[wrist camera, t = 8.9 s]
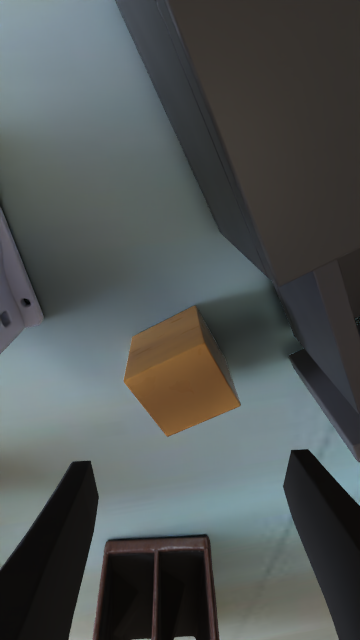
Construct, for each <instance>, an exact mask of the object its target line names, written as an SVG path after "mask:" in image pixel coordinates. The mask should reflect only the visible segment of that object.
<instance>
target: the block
mask: <svg viewBox="0 0 360 640" xmlns="http://www.w3.org/2000/svg"><path fill="white" fill-rule="evenodd" d="M123 381H124V383H125V384H126V385H127V387H128V388H129V389H130V390H131V392H132V393H133V394H134V396H135V397H136V398H137V399H138V401H139V402H140V403H141V404H142V406H143V407H144V408H145V409H146V411H147V412H148V413H149V414H150V416H151V417H152V418H153V419H154V421H155V422H156V423H157V425H158V426H159V427H160V428H161V430H162V431H163V432H164V433H165V435H166V436H167V437H169V436H171V435H173V434H176V433H178V432H180V431H183V430H185V429H187V428H190V427H192V426H195V425H197V424H199V423H202V422H204V421H206V420H209V419H211V418H213V417H216V416H218V415H220V414H223V413H225V412H228V411H230V410H232V409H235V408H237V407H239V406H241V404H240V401H239V398H238V395H237V392H236V389H235V386H234V383H233V380H232V377H231V374H230V371H229V368H228V365H227V362H226V359H225V357H224V355H223V354H222V352H221V350H220V348H219V346H218V345H217V343H216V341H215V339H214V337H213V336H212V334H211V332H210V330H209V328H208V327H207V325H206V323H205V321H204V319H203V318H202V316H201V314H200V312H199V310H198V309H197V307H196V306H195V305H194V306H192V307H190V308H188V309H186V310H184V311H182V312H180V313H179V314H177V315H175V316H173V317H171V318H169V319H167V320H165V321H163V322H161V323H159V324H157V325H155V326H153V327H151V328H149V329H147V330H145V331H143V332H141V333H139V334H137V335H135V336H133V337H132V341H131V346H130V351H129V356H128V361H127V366H126V371H125V376H124V380H123Z"/></svg>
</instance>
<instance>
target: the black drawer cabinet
mask: <svg viewBox="0 0 360 640" xmlns="http://www.w3.org/2000/svg"><path fill="white" fill-rule="evenodd" d="M115 1H116V3H117V6H118V8H119V10H120V12H121V14H122V17H123V19H124V21H125V23H126V25H127V28H128V30H129V32H130V34H131V36H132V39H133V41H134V43H135V45H136V48H137V50H138V52H139V54H140V56H141V59H142V61H143V63H144V65H145V67H146V70H147V72H148V74H149V76H150V78H151V81H152V83H153V85H154V87H155V90H156V92H157V94H158V96H159V98H160V101H161V103H162V105H163V107H164V109H165V112H166V114H167V116H168V118H169V120H170V123H171V125H172V127H173V129H174V132H175V134H176V136H177V138H178V140H179V143H180V145H181V147H182V149H183V151H184V154H185V156H186V158H187V160H188V163H189V165H190V167H191V169H192V171H193V174H194V176H195V178H196V180H197V182H198V185H199V187H200V189H201V191H202V193H203V196H204V198H205V200H206V202H207V205H208V207H209V209H210V211H211V213H212V216H213V218H214V220H215V222H216V224H217V227H218V229H219V231H220V233H221V234H222V235H223V236H224V237H226V238H227V239H228V240H229V241H230V242H231V243H232V244H233V245H234V246H235V247H236V248H237V249H238V250H239V251H240V252H241V253H242V254H244V255H245V256H246V257H247V258H248V259H249V260H250V261H251V262H252V263H253V264H254V265H255V266H256V267H257V268H258V269H259V270H261V271H262V272H263V273H264V274H265V275H266V276H267V277H268V278H269V279H270V280H271V281H272V282H274V283H275V284H276V285H277V286H278V287H280V286H283V285H285V284H287V283H289V282H291V281H293V280H295V279H297V278H299V277H301V276H303V275H306V274H308V273H310V272H312V271H314V270H316V269H318V268H320V267H322V266H324V265H326V264H328V263H330V262H332V261H334V260H336V259H338V258H340V257H342V256H344V255H346V254H348V253H351V252H353V251H355V250H357V249H359V248H360V0H115Z"/></svg>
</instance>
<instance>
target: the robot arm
mask: <svg viewBox="0 0 360 640" xmlns="http://www.w3.org/2000/svg"><path fill="white" fill-rule="evenodd" d="M24 298H26V299H28V300H29V301H30V304H27V303H25V302H24ZM43 319H44V317H43V313H42V311H41V308H40V306H39V303H38V300H37V298H36V295H35V293H34V290H33V288H32V285H31V283H30V280H29V278H28V275H27V273H26V270H25V267H24V265H23V262H22V260H21V257H20V255H19V252H18V250H17V247H16V245H15V242H14V239H13V237H12V234H11V232H10V229H9V227H8V224H7V222H6V219H5V217H4V214H3V211H2V209H1V206H0V354H1V353H2V352H3V351H4V350H5V349H6V348H7V347H8V345H9V344H10V343H11V342H12V341H13V340H14V339H15V338H16V337H17V336H18V335H19V334H20V333H21V332H22V331H23V330H24V328H27V327H34V326H38V325H39V324H40V323H41V322H42V321H43ZM283 488H284V491H285V495H286V498H287V502H288V505H289V509H290V512H291V515H292V518H293V521H294V524H295V526H296V529H297V531H298V534H299V536H300V539H301V541H302V544H303V546H304V548H305V551H306V553H307V556H308V558H309V561H310V563H311V566H312V568H313V571H314V573H315V575H316V578H317V580H318V583H319V585H320V588H321V590H322V593H323V595H324V598H325V600H326V603H327V606H328V608H329V611H330V614H331V616H332V619H333V622H334V626H335V629H336V632H337V635H338V638H339V640H360V506H359V505H358V504H357V503H356V502H355V500H354V499H353V498H352V497H351V496H350V495H349V494H348V493H347V492H346V491H345V490H344V489H343V488H342V487H341V485H340V484H339V483H338V482H337V481H336V480H335V479H334V478H333V477H332V475H331V474H330V473H329V472H328V471H327V470H326V469H325V468H324V466H323V465H322V464H321V463H320V462H319V461H318V460H317V459H316V457H315V456H314V455H313V454H312V453H311V452H310V451H309V450H308V449H304V450H291V454H290V458H289V463H288V467H287V472H286V476H285V480H284V485H283ZM98 499H99V496H98V491H97V487H96V482H95V478H94V474H93V469H92V465H91V461H75V462H72V463H71V464H70V466H69V467H68V469H67V471H66V473H65V474H64V476H63V478H62V479H61V481H60V483H59V484H58V486H57V487H56V489H55V491H54V492H53V494H52V495H51V497H50V499H49V500H48V502H47V503H46V505H45V506H44V508H43V509H42V511H41V512H40V514H39V515H38V517H37V518H36V520H35V521H34V523H33V524H32V526H31V527H30V529H29V530H28V532H27V533H26V535H25V536H24V538H23V539H22V540H21V542H20V543H19V544H18V546H17V547H16V549H15V550H14V551H13V553H12V554H11V555H10V557H9V558H8V560H7V561H6V562H5V564H4V565H3V567H2V568H1V569H0V640H68V639H69V633H70V629H71V624H72V619H73V615H74V611H75V607H76V603H77V598H78V594H79V590H80V586H81V582H82V578H83V574H84V570H85V566H86V562H87V558H88V553H89V549H90V545H91V541H92V537H93V532H94V527H95V520H96V514H97V506H98Z"/></svg>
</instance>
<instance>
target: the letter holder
mask: <svg viewBox="0 0 360 640" xmlns="http://www.w3.org/2000/svg"><path fill="white" fill-rule="evenodd" d="M183 636H194V637H195V638H196V640H219V630H218V619H217V607H216V597H215V588H214V579H213V571H212V559H211V546H210V540H209V537H208V536H207V535H203V536H193V537H175V538H148V539H129V540H109V541H108V542H106V545H105V550H104V556H103V565H102V572H101V580H100V589H99V594H98V601H97V610H96V618H95V623H94V630H93V638H92V639H93V640H132V639H144V638H147V639H151V640H174V637H183Z"/></svg>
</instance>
